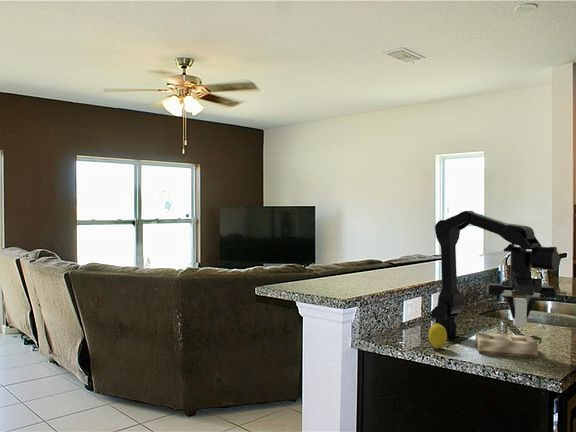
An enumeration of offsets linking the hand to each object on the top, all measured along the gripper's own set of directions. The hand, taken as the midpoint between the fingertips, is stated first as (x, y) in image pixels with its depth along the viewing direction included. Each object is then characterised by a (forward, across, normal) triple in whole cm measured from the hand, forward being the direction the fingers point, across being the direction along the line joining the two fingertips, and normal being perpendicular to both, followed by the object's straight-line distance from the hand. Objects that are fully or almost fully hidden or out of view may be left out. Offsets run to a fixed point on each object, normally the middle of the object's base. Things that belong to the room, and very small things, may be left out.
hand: (519, 318), depth 152 cm
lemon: (+11, -24, -3) cm, 26 cm away
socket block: (+10, -4, 0) cm, 11 cm away
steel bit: (+2, 0, 0) cm, 2 cm away
